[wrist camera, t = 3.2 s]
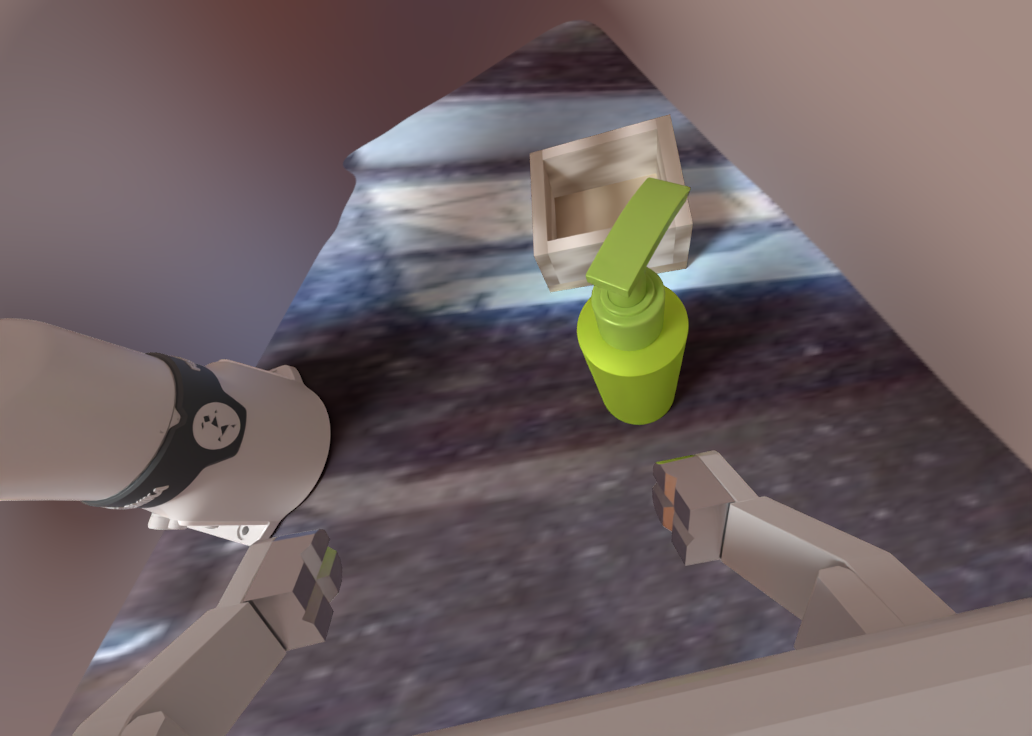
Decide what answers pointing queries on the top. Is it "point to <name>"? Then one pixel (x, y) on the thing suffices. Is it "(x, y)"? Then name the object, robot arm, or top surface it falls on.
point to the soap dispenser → (635, 310)
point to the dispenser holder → (601, 198)
